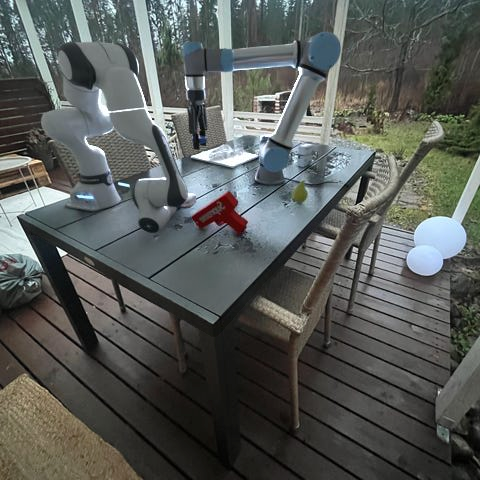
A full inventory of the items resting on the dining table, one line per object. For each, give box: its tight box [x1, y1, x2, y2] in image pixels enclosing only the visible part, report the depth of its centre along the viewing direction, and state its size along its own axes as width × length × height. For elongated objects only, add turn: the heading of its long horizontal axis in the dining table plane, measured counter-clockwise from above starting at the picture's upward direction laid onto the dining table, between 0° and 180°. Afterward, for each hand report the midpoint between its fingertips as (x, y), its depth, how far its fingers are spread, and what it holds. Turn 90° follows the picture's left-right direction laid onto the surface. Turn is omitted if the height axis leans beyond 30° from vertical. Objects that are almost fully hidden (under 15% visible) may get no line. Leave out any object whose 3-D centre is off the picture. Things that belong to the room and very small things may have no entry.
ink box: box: [296, 143, 314, 168], centre depth 163 cm, size 8×5×12 cm, turn 135°
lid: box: [191, 135, 208, 145], centre depth 120 cm, size 6×6×2 cm
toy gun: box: [190, 190, 249, 236], centre depth 99 cm, size 18×4×15 cm
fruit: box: [291, 174, 311, 204], centre depth 118 cm, size 7×8×12 cm
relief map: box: [190, 143, 259, 169], centre depth 179 cm, size 27×35×5 cm
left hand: (176, 191), depth 116 cm, fingers closed on jar, 5 cm apart
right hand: (200, 147), depth 122 cm, fingers closed on lid, 6 cm apart
